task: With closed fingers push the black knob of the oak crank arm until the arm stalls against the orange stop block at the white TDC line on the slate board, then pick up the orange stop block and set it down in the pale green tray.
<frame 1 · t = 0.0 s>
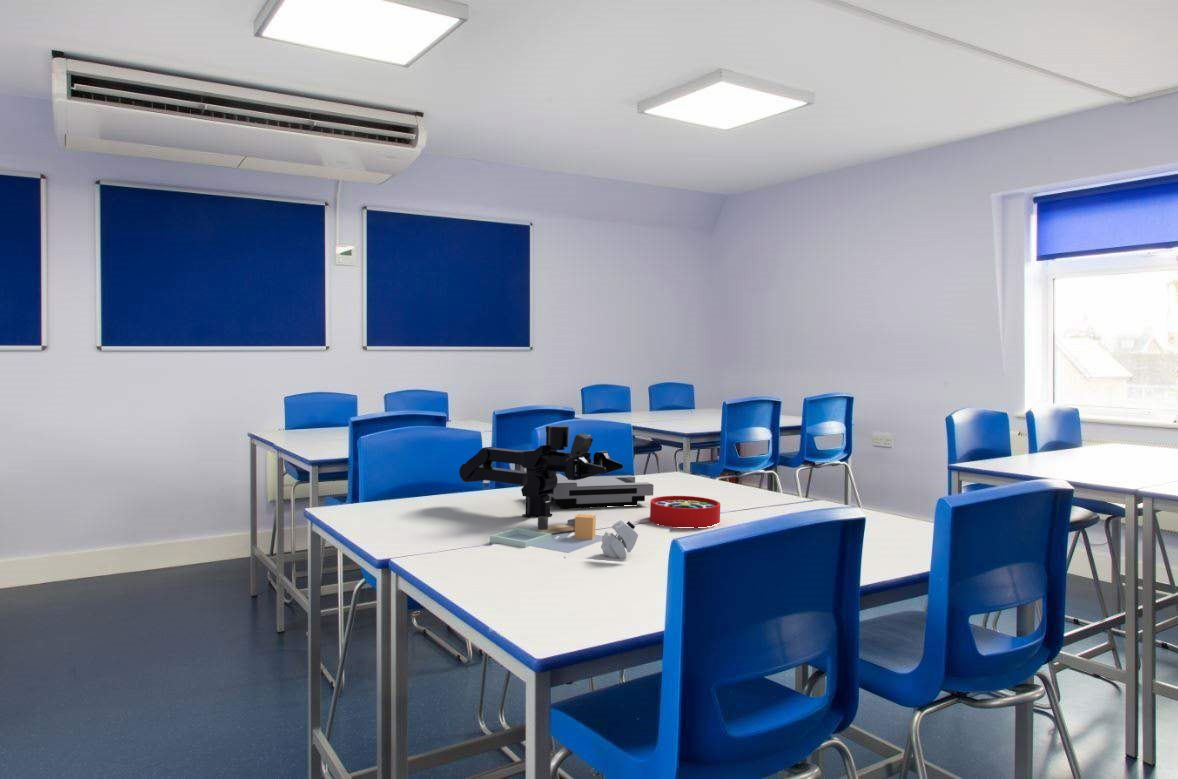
hand: (614, 468, 218), 17 cm above the table, fingers open, 9 cm apart
office tray: (594, 503, 258), on the table
crank base: (576, 532, 214), on the table
tray: (520, 542, 201), resting on crank base
crank: (561, 522, 210), point 3 cm above the table, hinge at 0.0°
stop block: (585, 537, 205), point 1 cm above the table, touching crank base
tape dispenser: (618, 558, 188), on the table
toy clock: (684, 522, 231), on the table
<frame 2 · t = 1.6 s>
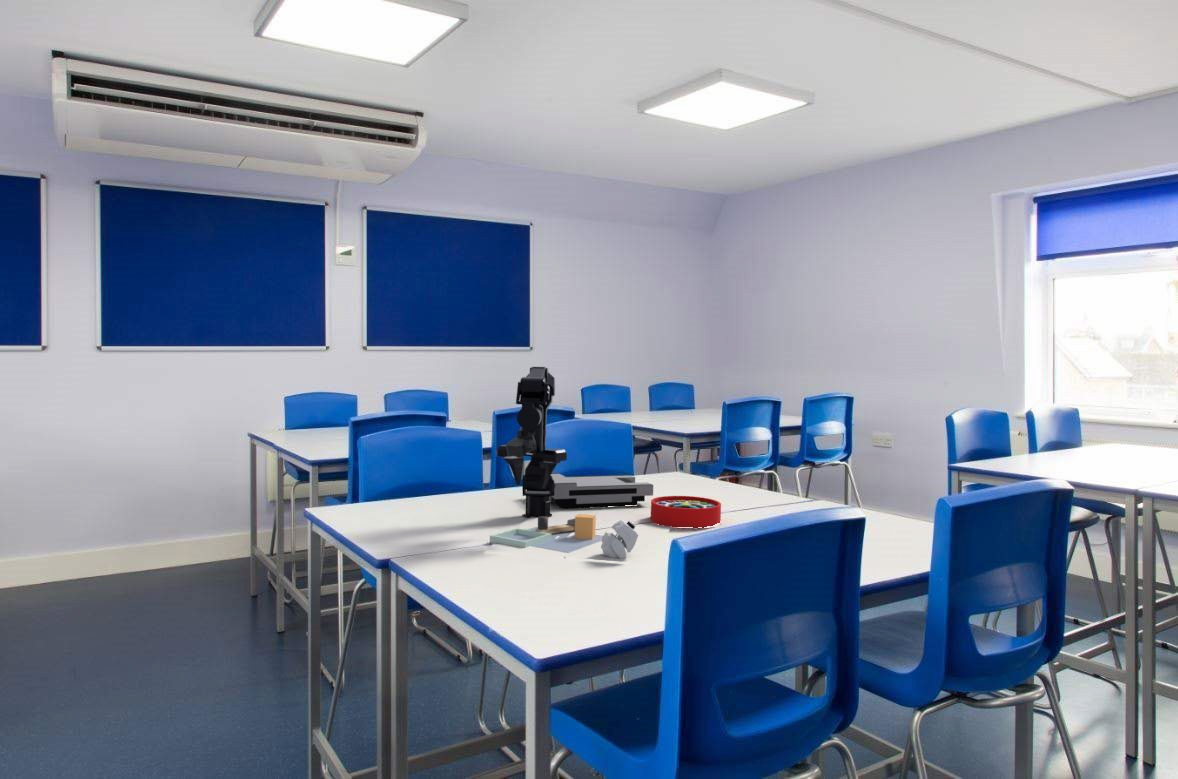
hand: (530, 486, 208), 13 cm above the table, fingers open, 8 cm apart
nothing on the table moved.
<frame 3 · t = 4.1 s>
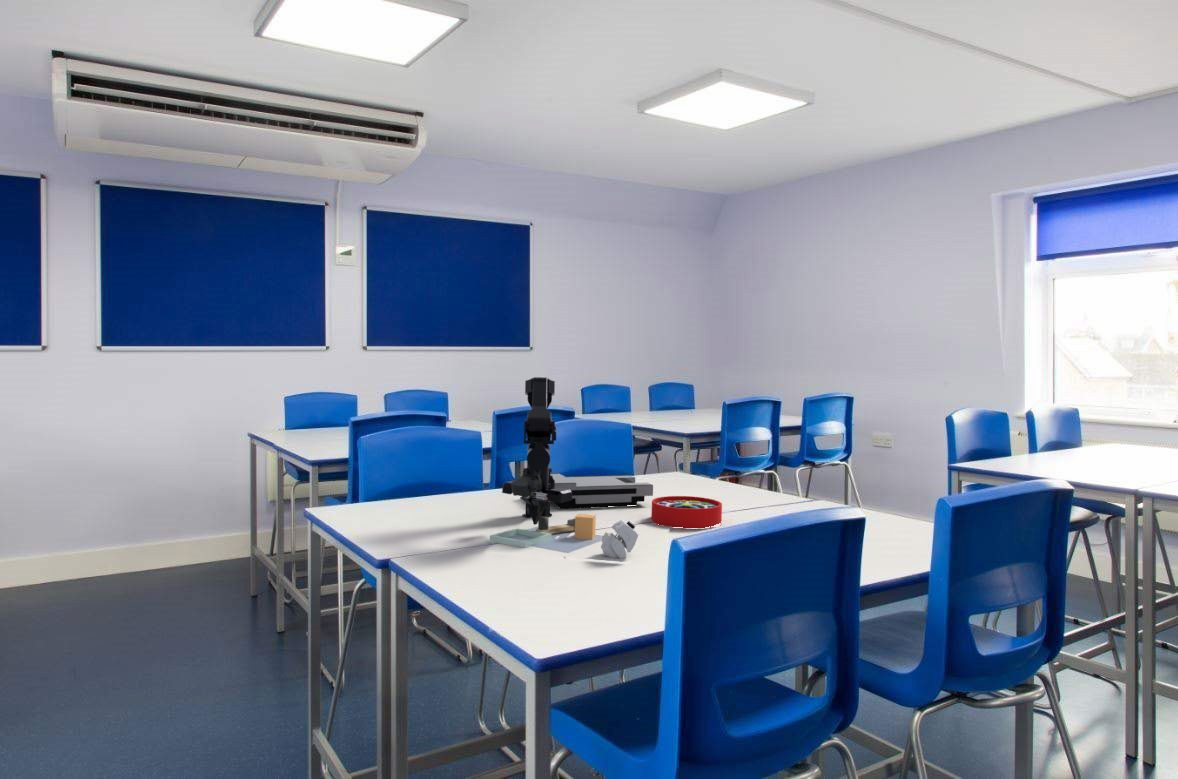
hand: (535, 524, 208), 3 cm above the table, fingers closed
crank: (562, 522, 210), point 3 cm above the table, hinge at 1.2°, touching gripper
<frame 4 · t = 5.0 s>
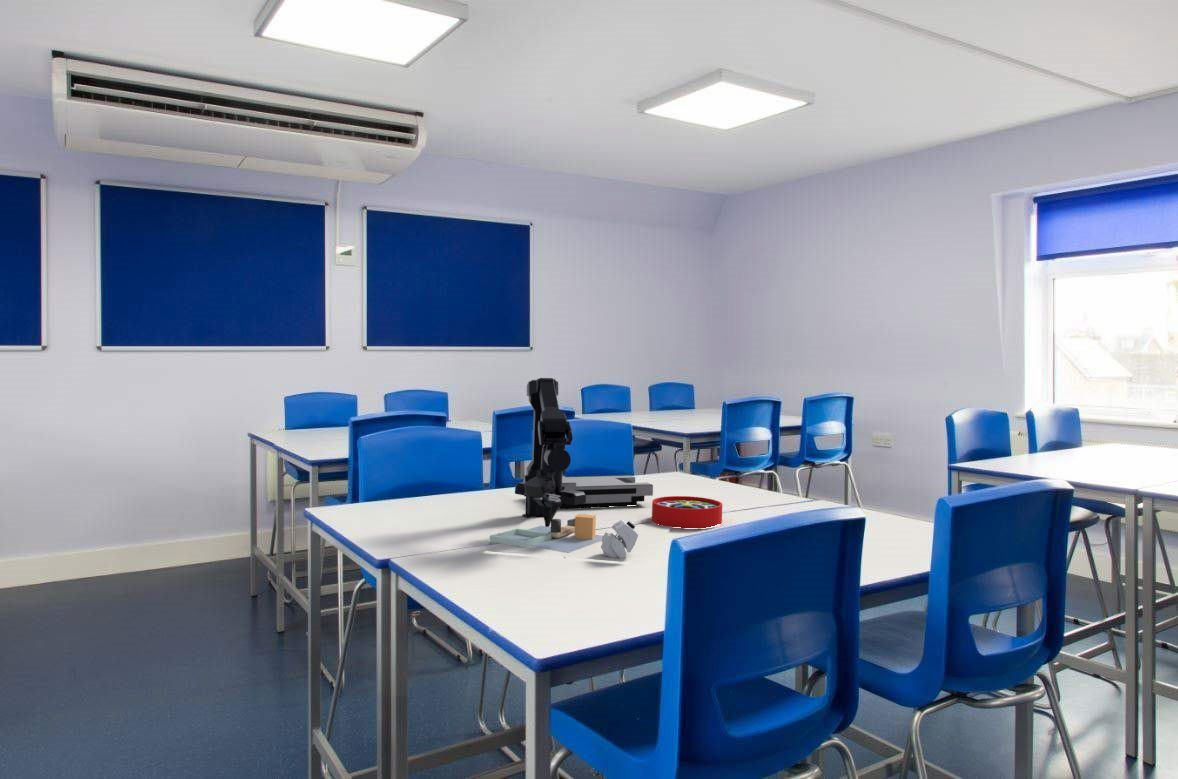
hand: (547, 526, 205), 3 cm above the table, fingers closed
crank: (567, 523, 209), point 3 cm above the table, hinge at 23.9°, touching gripper
everything else where it was.
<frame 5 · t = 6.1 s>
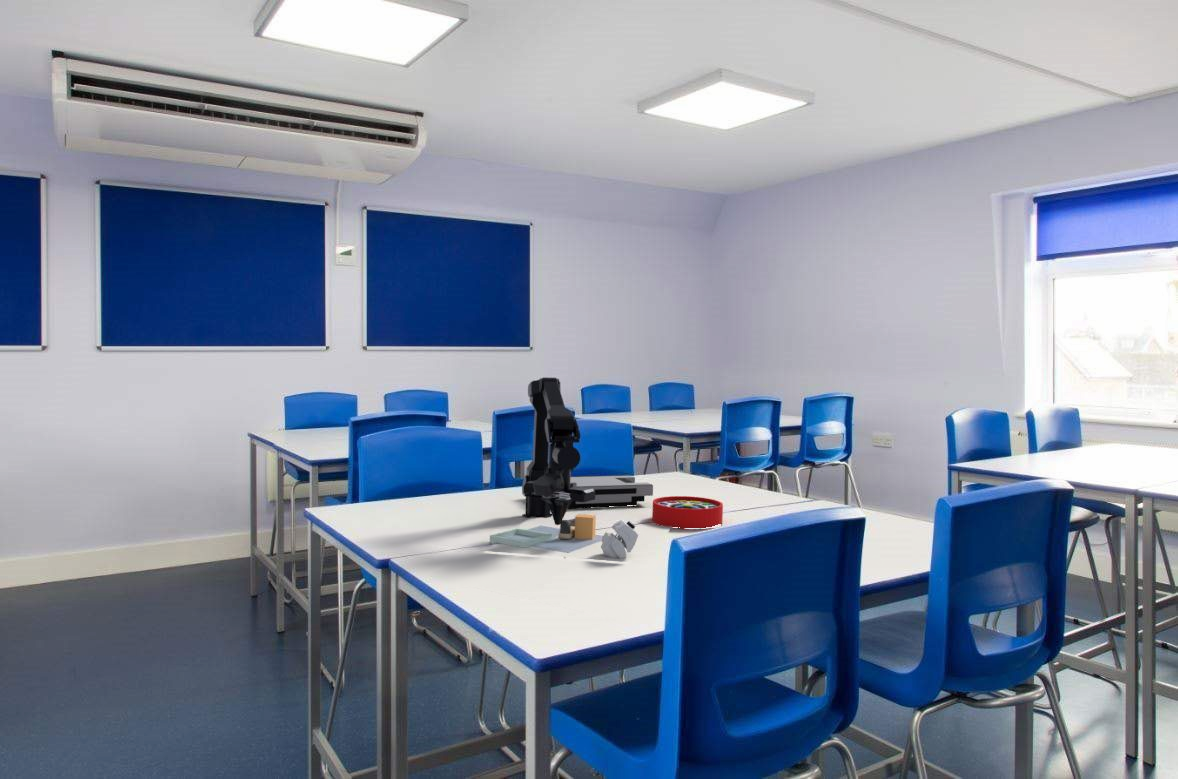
hand: (557, 524, 204), 4 cm above the table, fingers closed
crank: (571, 524, 209), point 3 cm above the table, hinge at 37.4°
everything else where it was.
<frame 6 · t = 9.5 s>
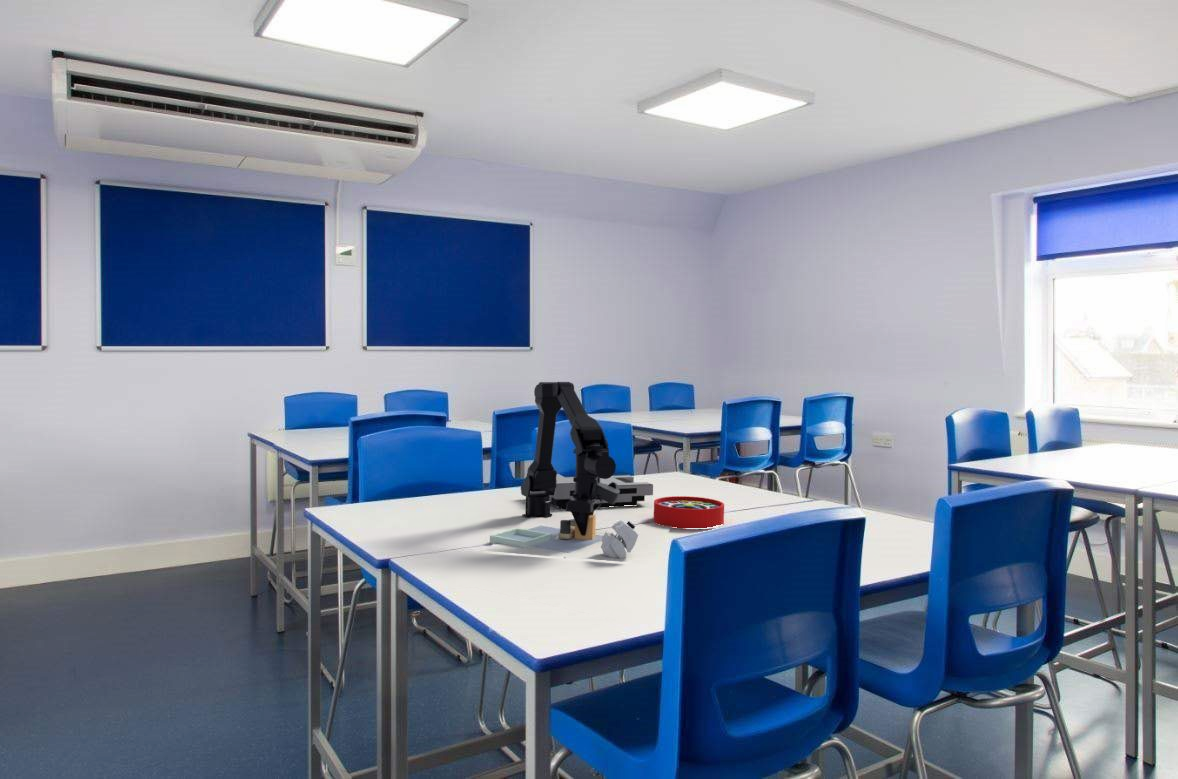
hand: (585, 533, 205), 2 cm above the table, fingers closed on stop block, 4 cm apart
stop block: (585, 537, 205), point 1 cm above the table, touching crank base, gripper
when the fingers open (3 cm above the table, at t = 13.8 s): stop block drops 1 cm, resting on crank base.
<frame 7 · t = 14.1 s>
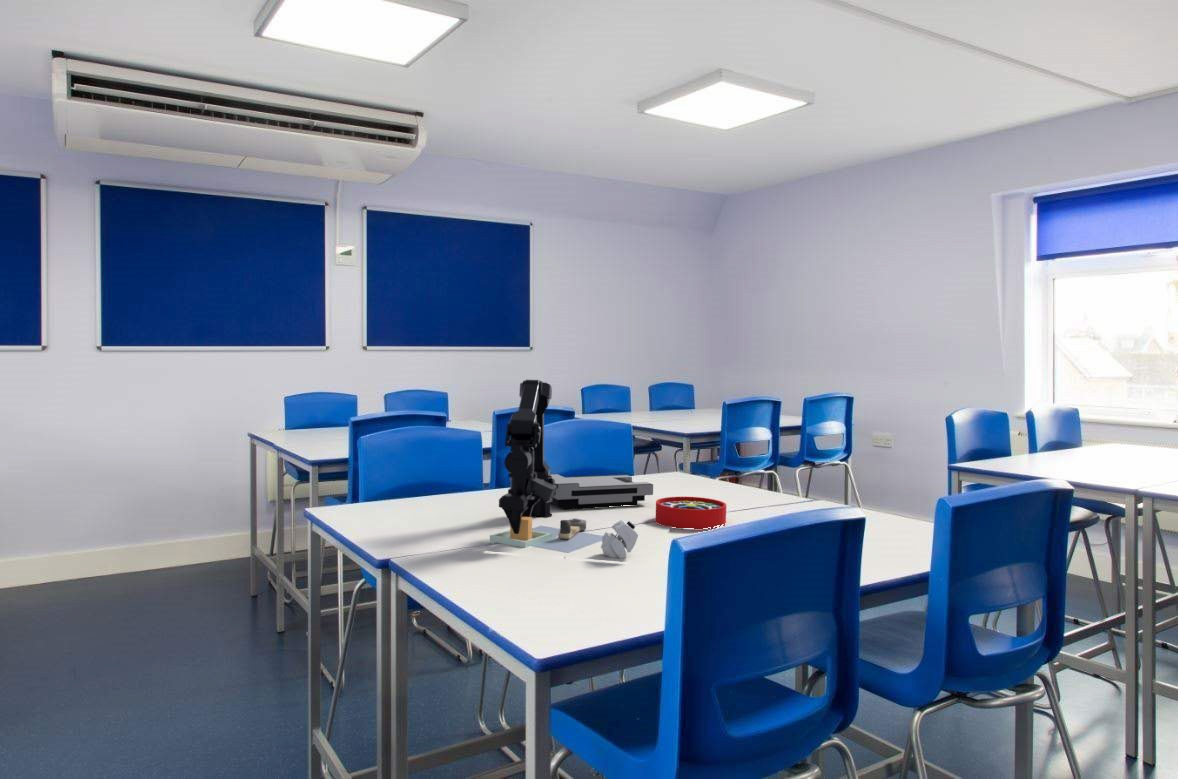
hand: (521, 530, 201), 3 cm above the table, fingers open, 7 cm apart
stop block: (521, 539, 201), point 1 cm above the table, touching crank base
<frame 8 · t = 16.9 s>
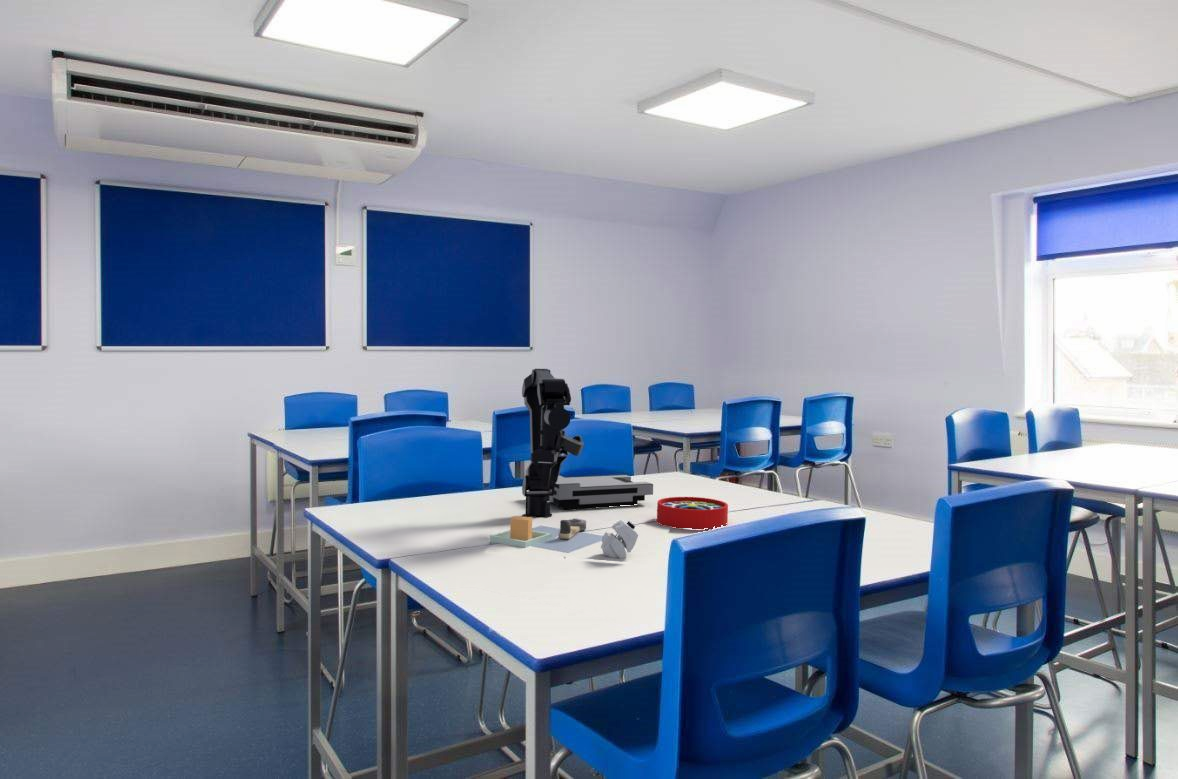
hand: (550, 484, 213), 13 cm above the table, fingers open, 9 cm apart
at the end: crank at +37° (first picture: +0°); stop block inside the target area on the tray (0.0 cm from its centre), point 0.6 cm above the tray's base; the gripper is holding nothing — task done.
